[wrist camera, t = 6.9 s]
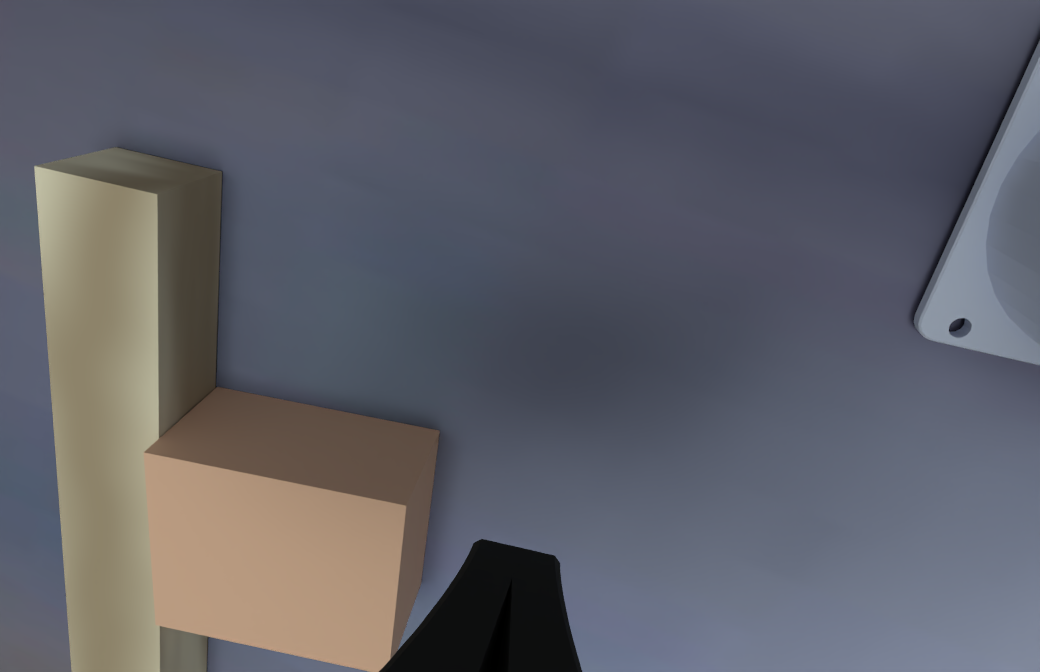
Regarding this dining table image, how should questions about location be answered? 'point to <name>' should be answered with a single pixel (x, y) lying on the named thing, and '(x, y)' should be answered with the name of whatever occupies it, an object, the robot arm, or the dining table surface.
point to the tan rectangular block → (289, 526)
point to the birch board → (123, 378)
